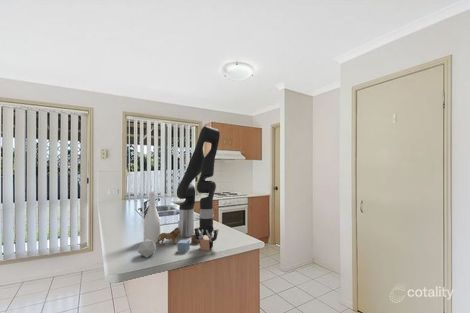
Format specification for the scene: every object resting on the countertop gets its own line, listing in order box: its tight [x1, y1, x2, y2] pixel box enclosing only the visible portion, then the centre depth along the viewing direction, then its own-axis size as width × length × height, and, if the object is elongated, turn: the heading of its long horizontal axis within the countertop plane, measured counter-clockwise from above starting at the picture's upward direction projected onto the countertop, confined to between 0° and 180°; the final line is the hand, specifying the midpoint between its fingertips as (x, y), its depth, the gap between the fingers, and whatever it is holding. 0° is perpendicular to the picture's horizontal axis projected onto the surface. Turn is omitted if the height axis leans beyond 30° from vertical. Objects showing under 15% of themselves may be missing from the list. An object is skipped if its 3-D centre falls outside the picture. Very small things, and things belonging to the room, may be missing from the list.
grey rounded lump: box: [137, 239, 157, 258], centre depth 122 cm, size 8×9×10 cm
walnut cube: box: [190, 232, 201, 245], centre depth 142 cm, size 5×5×5 cm
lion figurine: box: [155, 226, 181, 246], centre depth 139 cm, size 15×5×9 cm, turn 116°
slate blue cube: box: [177, 239, 190, 253], centre depth 128 cm, size 5×5×5 cm
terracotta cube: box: [199, 237, 211, 251], centre depth 132 cm, size 5×5×5 cm
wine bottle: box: [143, 190, 161, 244], centre depth 144 cm, size 10×10×30 cm
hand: (206, 247), depth 132 cm, fingers closed on terracotta cube, 5 cm apart
